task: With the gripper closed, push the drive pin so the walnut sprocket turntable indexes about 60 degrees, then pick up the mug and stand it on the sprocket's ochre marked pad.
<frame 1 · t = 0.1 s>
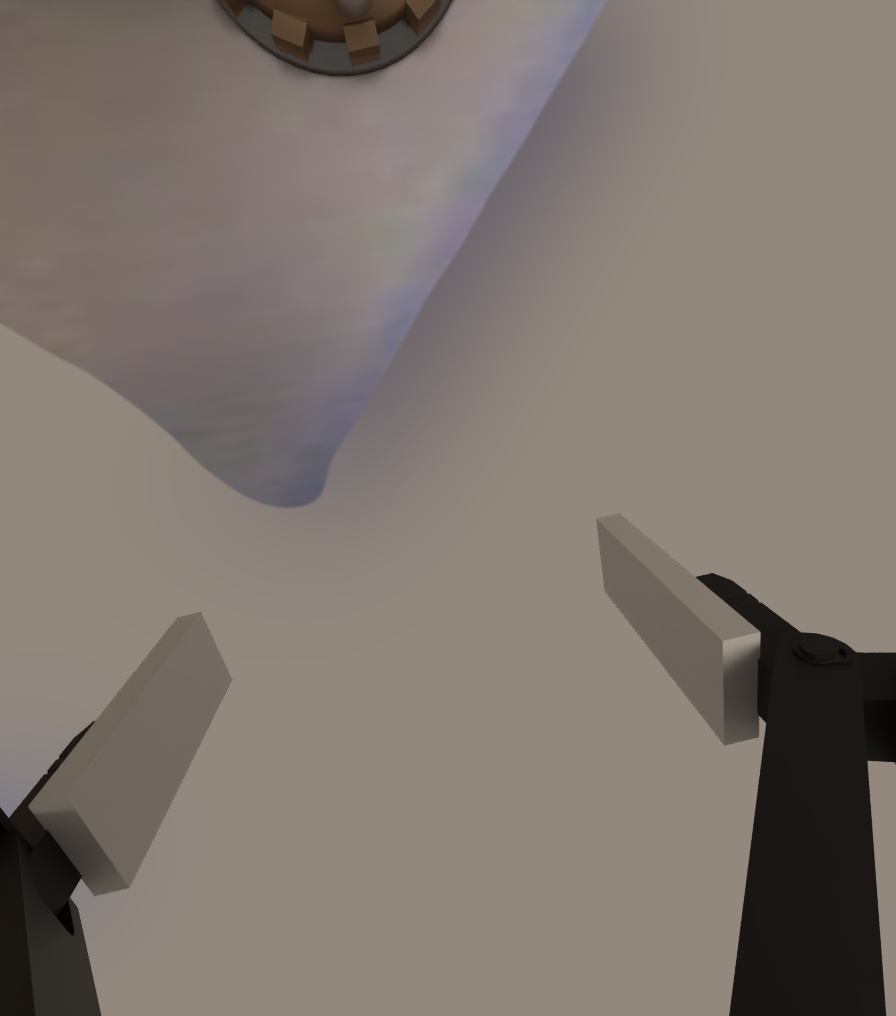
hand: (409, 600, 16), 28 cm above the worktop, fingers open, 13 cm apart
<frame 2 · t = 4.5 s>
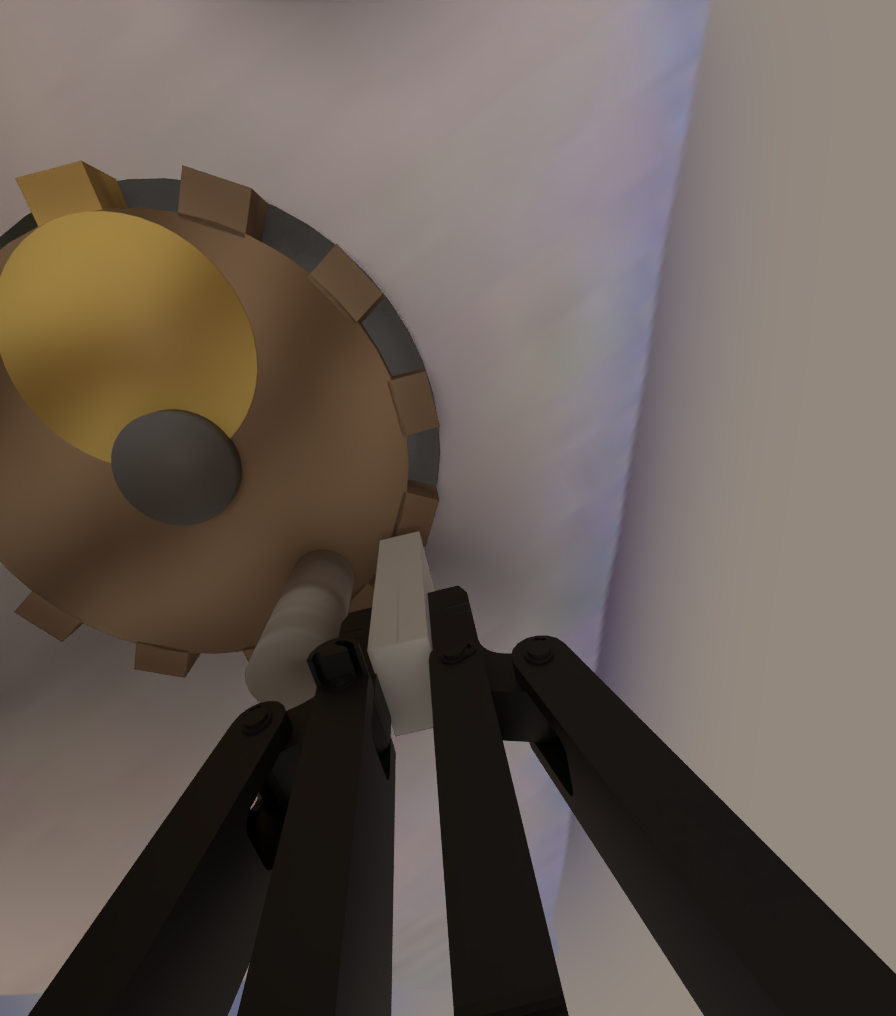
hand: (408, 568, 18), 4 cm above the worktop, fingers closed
base plate: (214, 447, 20), on the worktop
sprocket: (155, 482, 15), point 5 cm above the worktop, hinge at 0.0°, touching gripper
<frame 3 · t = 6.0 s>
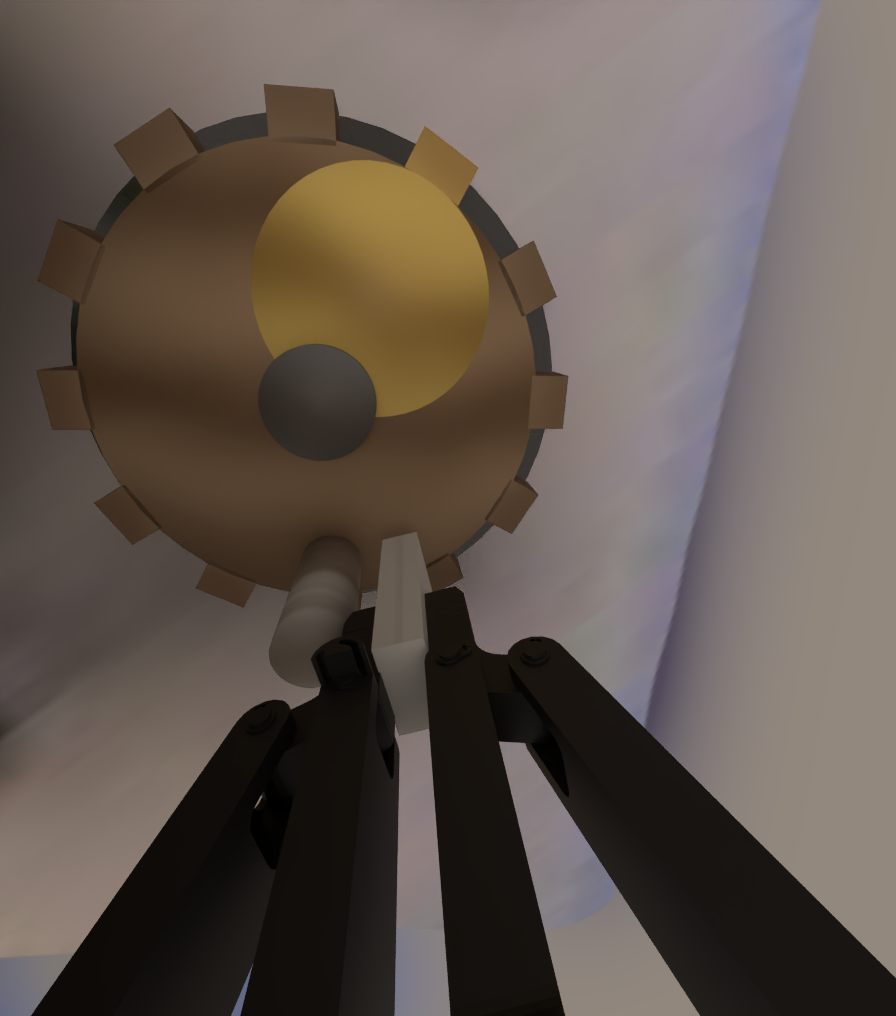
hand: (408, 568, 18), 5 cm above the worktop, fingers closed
base plate: (329, 391, 20), on the worktop
sprocket: (312, 411, 16), point 5 cm above the worktop, hinge at -45.0°, touching gripper
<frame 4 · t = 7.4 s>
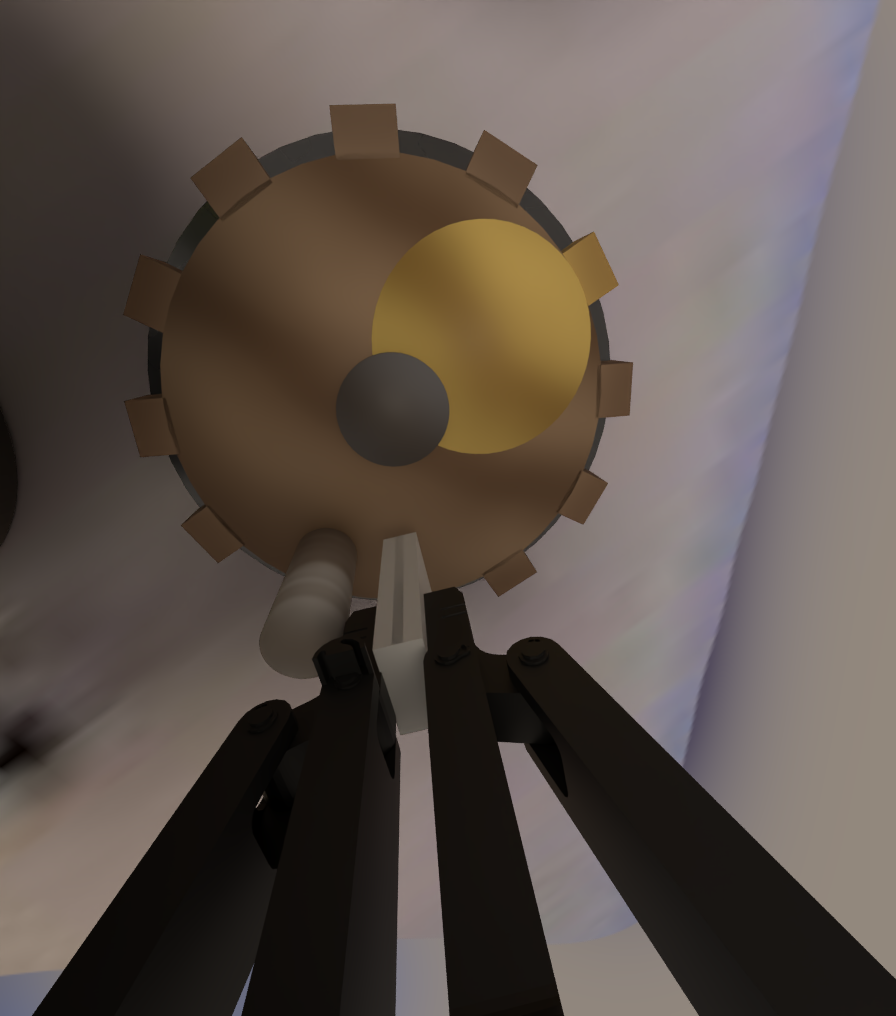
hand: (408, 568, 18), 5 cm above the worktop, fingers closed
base plate: (392, 398, 21), on the worktop
sprocket: (394, 417, 16), point 5 cm above the worktop, hinge at -70.7°, touching gripper
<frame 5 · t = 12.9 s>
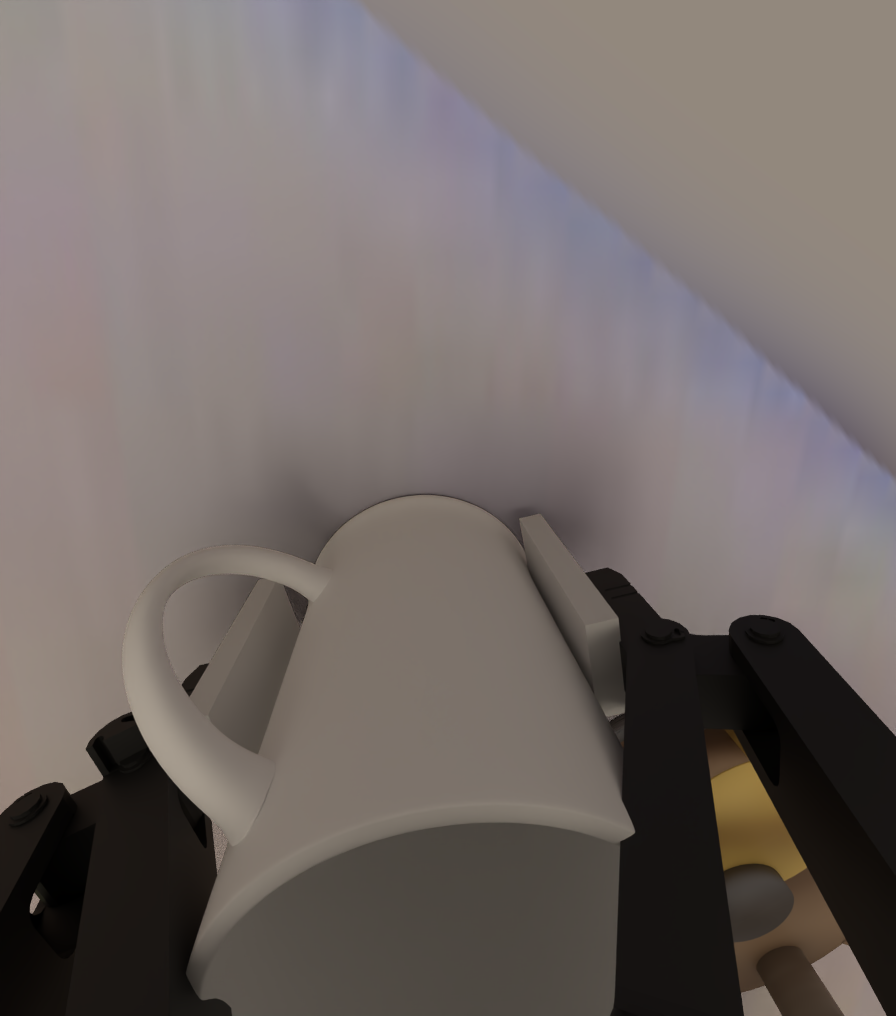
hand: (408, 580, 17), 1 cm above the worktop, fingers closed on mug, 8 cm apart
sprocket: (771, 947, 20), point 5 cm above the worktop, hinge at -71.0°
mug: (391, 571, 18), on the worktop, touching gripper
when the fingers open (6 cm above the worktop, at t = 19.0 s): mug drops 1 cm, resting on sprocket.
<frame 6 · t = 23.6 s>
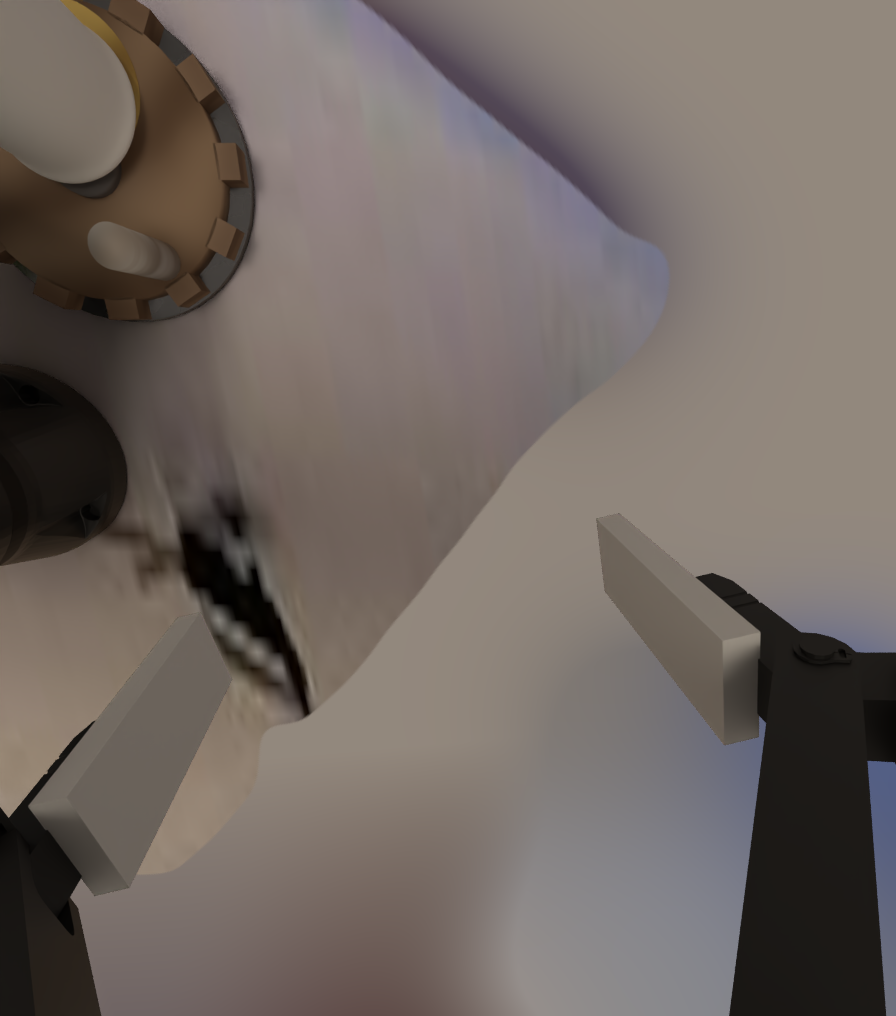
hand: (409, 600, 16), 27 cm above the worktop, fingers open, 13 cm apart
base plate: (113, 175, 33), on the worktop
sprocket: (65, 149, 28), point 5 cm above the worktop, hinge at -71.0°, touching mug
mug: (43, 84, 29), point 3 cm above the worktop, touching sprocket
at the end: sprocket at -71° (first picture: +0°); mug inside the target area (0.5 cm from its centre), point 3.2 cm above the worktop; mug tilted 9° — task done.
